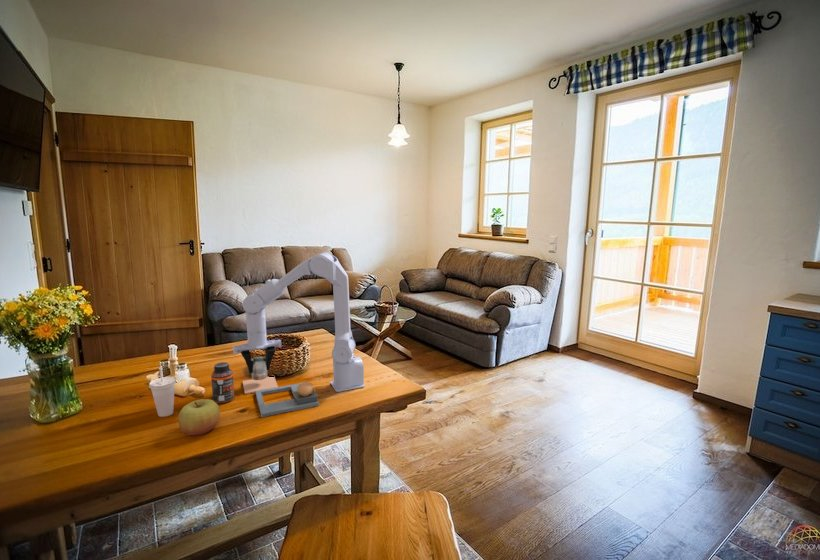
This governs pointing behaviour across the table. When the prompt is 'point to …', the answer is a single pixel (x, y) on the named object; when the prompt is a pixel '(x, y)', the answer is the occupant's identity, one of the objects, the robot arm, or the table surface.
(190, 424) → the apple
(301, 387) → the plunger
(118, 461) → the table surface
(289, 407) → the housing
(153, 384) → the smoothie
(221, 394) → the supplement bottle
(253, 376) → the cartridge
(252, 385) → the coaster
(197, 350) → the table surface
